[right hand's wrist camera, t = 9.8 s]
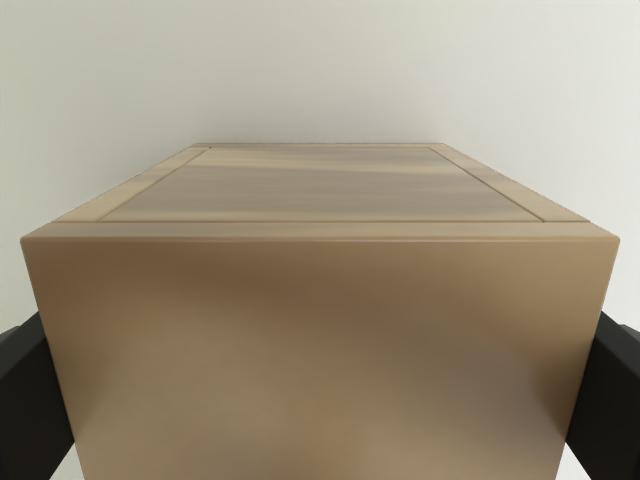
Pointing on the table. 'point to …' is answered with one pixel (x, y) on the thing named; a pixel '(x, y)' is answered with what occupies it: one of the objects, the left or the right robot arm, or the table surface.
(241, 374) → the cabinet
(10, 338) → the right robot arm
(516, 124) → the table surface
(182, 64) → the table surface
